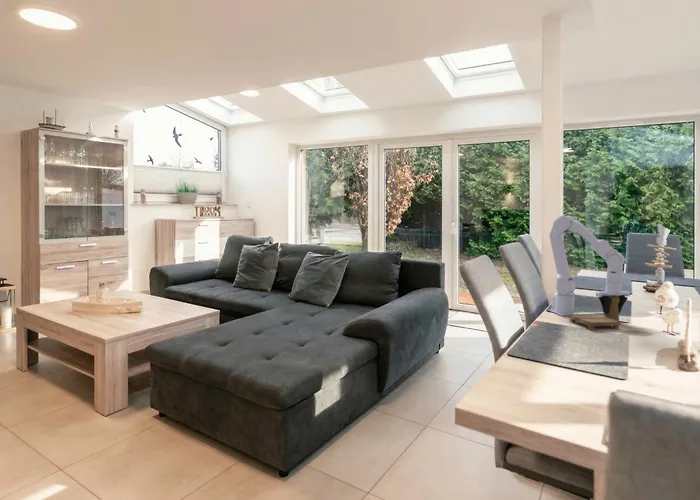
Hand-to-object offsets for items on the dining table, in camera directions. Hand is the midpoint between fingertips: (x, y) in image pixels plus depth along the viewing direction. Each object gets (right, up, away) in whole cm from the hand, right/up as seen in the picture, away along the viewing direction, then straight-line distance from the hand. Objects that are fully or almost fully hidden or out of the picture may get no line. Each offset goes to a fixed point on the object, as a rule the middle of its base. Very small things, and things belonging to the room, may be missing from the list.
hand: (611, 313), depth 190 cm
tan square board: (-11, -4, -6) cm, 13 cm away
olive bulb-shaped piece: (0, -4, 0) cm, 4 cm away
